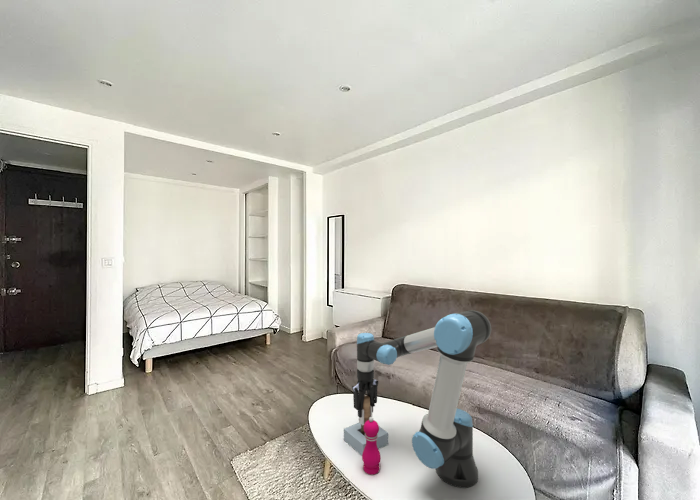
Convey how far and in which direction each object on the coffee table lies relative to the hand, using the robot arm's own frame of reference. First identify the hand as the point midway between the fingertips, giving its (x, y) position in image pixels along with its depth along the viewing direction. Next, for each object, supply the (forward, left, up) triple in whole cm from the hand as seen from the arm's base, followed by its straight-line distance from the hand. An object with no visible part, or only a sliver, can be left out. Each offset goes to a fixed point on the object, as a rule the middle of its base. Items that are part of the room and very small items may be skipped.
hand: (365, 421), depth 135 cm
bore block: (0, 0, -9) cm, 9 cm away
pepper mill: (-14, +9, -9) cm, 19 cm away
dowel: (0, 0, -6) cm, 6 cm away
